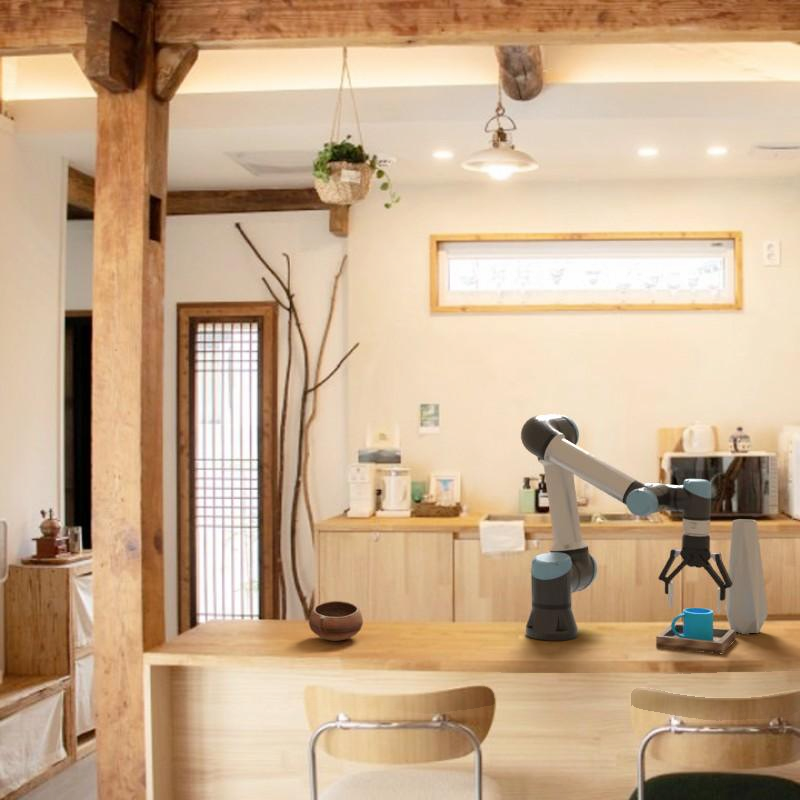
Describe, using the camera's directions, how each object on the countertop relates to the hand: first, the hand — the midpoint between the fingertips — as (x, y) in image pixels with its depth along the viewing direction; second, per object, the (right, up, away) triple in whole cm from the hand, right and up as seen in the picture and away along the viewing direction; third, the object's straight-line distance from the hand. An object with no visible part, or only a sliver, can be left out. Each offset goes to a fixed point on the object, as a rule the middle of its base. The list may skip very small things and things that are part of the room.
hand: (694, 608), depth 301 cm
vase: (+19, -10, +13) cm, 25 cm away
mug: (-1, -9, 0) cm, 9 cm away
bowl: (-102, -11, +8) cm, 103 cm away
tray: (+1, -10, 0) cm, 10 cm away
